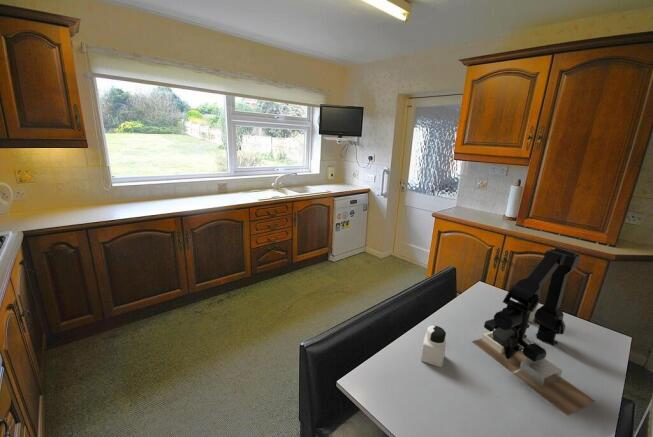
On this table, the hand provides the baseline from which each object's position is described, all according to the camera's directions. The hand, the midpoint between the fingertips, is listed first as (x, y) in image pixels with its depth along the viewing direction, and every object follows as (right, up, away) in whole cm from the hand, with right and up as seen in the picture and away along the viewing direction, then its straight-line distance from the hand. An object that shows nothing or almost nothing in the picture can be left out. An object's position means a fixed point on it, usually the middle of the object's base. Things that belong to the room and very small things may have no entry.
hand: (507, 358), depth 102 cm
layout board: (+5, -3, -2) cm, 6 cm away
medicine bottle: (-26, -1, +2) cm, 26 cm away
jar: (+26, +4, +30) cm, 40 cm away
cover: (+6, -3, -6) cm, 9 cm away
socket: (+2, +1, +9) cm, 9 cm away
